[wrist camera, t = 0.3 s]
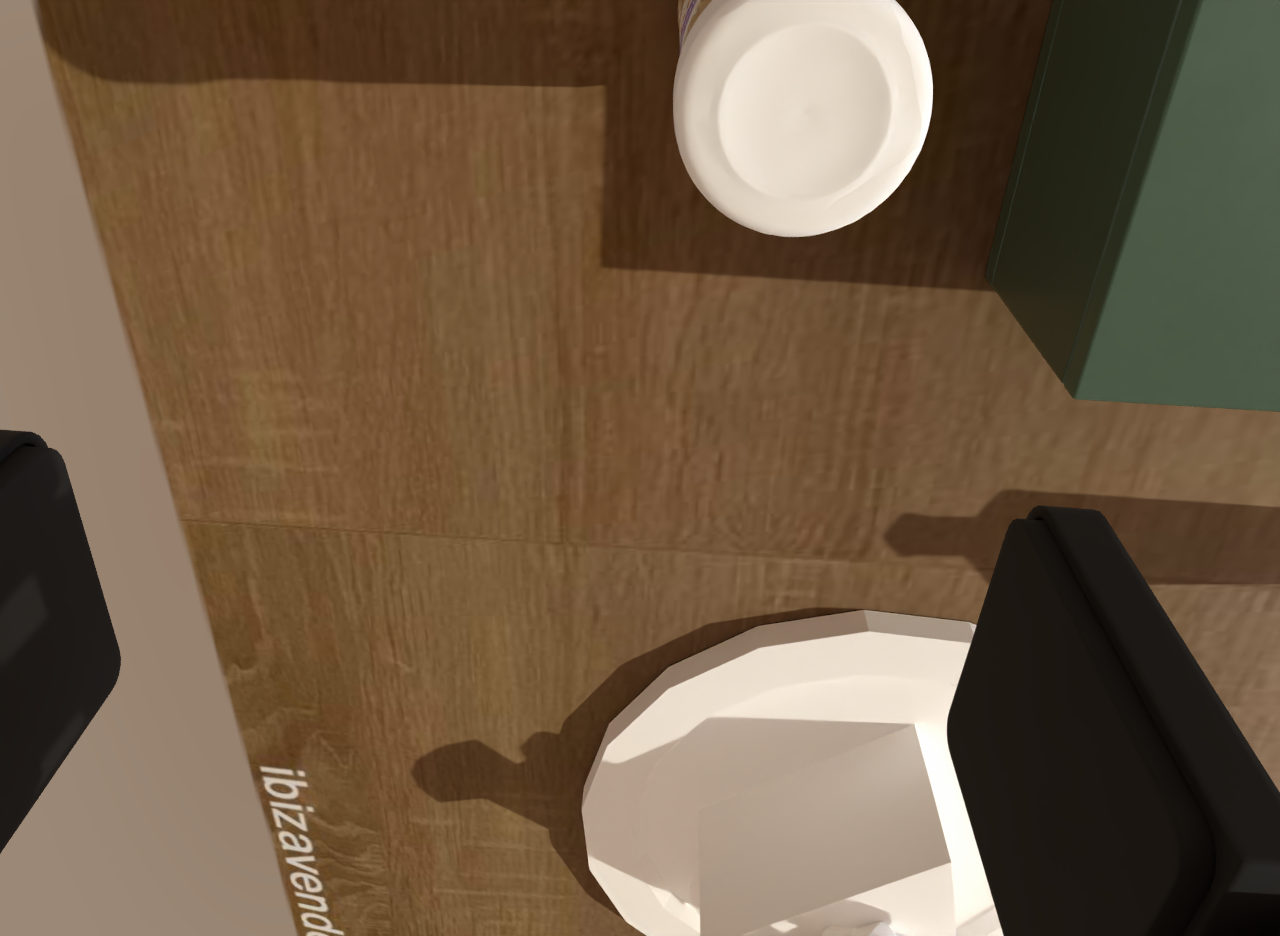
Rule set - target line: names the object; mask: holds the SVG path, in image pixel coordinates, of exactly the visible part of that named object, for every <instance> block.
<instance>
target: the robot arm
mask: <svg viewBox="0 0 1280 936" xmlns="http://www.w3.org/2000/svg"><path fill="white" fill-rule="evenodd" d="M120 666H121V657H120V650H119V647H118V643H117V640H116V636H115V633H114V629H113V626H112V623H111V619H110V616H109V613H108V609H107V605H106V602H105V599H104V596H103V592H102V589H101V585H100V582H99V578H98V575H97V571H96V568H95V565H94V561H93V558H92V554H91V551H90V547H89V544H88V541H87V537H86V534H85V530H84V527H83V524H82V520H81V517H80V513H79V510H78V506H77V503H76V500H75V496H74V493H73V489H72V486H71V483H70V479H69V476H68V472H67V469H66V466H65V463H64V460H63V458H62V456H61V455H60V454H59V452H58V451H57V450H54V449H52V448H48V446H47V444H46V442H45V441H44V440H43V439H42V438H41V437H40V436H39V435H37V434H35V433H33V432H25V431H24V432H23V431H10V430H0V853H1V852H2V850H3V849H4V847H5V846H6V844H7V843H8V841H9V840H10V839H11V837H12V836H13V834H14V833H15V831H16V830H17V828H18V827H19V825H20V824H21V822H22V821H23V819H24V818H25V817H26V815H27V814H28V812H29V811H30V809H31V808H32V806H33V805H34V803H35V802H36V801H37V799H38V798H39V796H40V795H41V793H42V792H43V790H44V789H45V787H46V786H47V784H48V783H49V781H50V780H51V779H52V777H53V776H54V774H55V773H56V771H57V770H58V768H59V767H60V765H61V764H62V762H63V761H64V760H65V758H66V757H67V755H68V754H69V752H70V751H71V749H72V748H73V746H74V745H75V744H76V742H77V741H78V739H79V738H80V736H81V735H82V733H83V732H84V730H85V729H86V728H87V726H88V725H89V723H90V722H91V720H92V719H93V717H94V716H95V714H96V713H97V712H98V710H99V708H100V707H101V706H102V704H103V703H104V701H105V700H106V698H107V697H108V695H109V694H110V693H111V691H112V689H113V688H114V685H115V684H116V681H117V679H118V676H119V671H120ZM947 742H948V748H949V752H950V756H951V759H952V762H953V766H954V769H955V773H956V776H957V779H958V783H959V786H960V790H961V793H962V796H963V800H964V803H965V807H966V810H967V813H968V817H969V820H970V824H971V827H972V830H973V834H974V837H975V841H976V844H977V847H978V851H979V854H980V858H981V861H982V864H983V868H984V871H985V874H986V878H987V881H988V885H989V888H990V891H991V895H992V898H993V902H994V905H995V908H996V912H997V915H998V919H999V922H1000V925H1001V929H1002V932H1003V936H1280V792H1279V791H1278V789H1277V788H1276V786H1275V785H1274V783H1273V781H1272V780H1271V778H1270V777H1269V775H1268V774H1267V772H1266V770H1265V769H1264V767H1263V766H1262V764H1261V762H1260V761H1259V759H1258V758H1257V756H1256V755H1255V753H1254V751H1253V750H1252V748H1251V747H1250V745H1249V744H1248V742H1247V740H1246V739H1245V737H1244V736H1243V734H1242V732H1241V731H1240V729H1239V728H1238V726H1237V725H1236V723H1235V721H1234V720H1233V718H1232V717H1231V715H1230V714H1229V712H1228V710H1227V709H1226V707H1225V706H1224V704H1223V702H1222V701H1221V699H1220V698H1219V696H1218V695H1217V693H1216V691H1215V690H1214V688H1213V687H1212V685H1211V684H1210V682H1209V680H1208V679H1207V677H1206V676H1205V674H1204V672H1203V671H1202V669H1201V668H1200V666H1199V665H1198V663H1197V662H1196V660H1195V658H1194V657H1193V655H1192V654H1191V652H1190V651H1189V649H1188V647H1187V646H1186V644H1185V643H1184V641H1183V639H1182V638H1181V636H1180V635H1179V633H1178V632H1177V630H1176V628H1175V627H1174V625H1173V624H1172V622H1171V621H1170V619H1169V617H1168V616H1167V614H1166V613H1165V611H1164V610H1163V608H1162V606H1161V605H1160V603H1159V602H1158V600H1157V598H1156V597H1155V595H1154V594H1153V592H1152V591H1151V589H1150V587H1149V586H1148V584H1147V583H1146V581H1145V580H1144V578H1143V576H1142V575H1141V573H1140V572H1139V570H1138V568H1137V567H1136V565H1135V564H1134V562H1133V561H1132V559H1131V557H1130V556H1129V554H1128V553H1127V551H1126V550H1125V548H1124V546H1123V545H1122V543H1121V542H1120V540H1119V538H1118V537H1117V535H1116V534H1115V532H1114V531H1113V529H1112V527H1111V526H1110V524H1109V523H1108V521H1107V520H1106V518H1105V517H1104V516H1103V515H1102V513H1101V512H1100V511H1096V510H1092V509H1078V508H1065V507H1051V506H1037V507H1035V508H1033V509H1032V511H1031V512H1030V513H1029V515H1028V517H1027V519H1015V520H1013V521H1012V522H1011V524H1010V525H1009V527H1008V530H1007V532H1006V535H1005V538H1004V541H1003V544H1002V547H1001V551H1000V554H999V557H998V560H997V563H996V566H995V569H994V573H993V576H992V579H991V582H990V585H989V588H988V591H987V594H986V598H985V601H984V604H983V607H982V610H981V613H980V616H979V619H978V623H977V626H976V629H975V632H974V635H973V638H972V641H971V644H970V648H969V651H968V654H967V657H966V660H965V663H964V666H963V669H962V673H961V676H960V679H959V682H958V685H957V688H956V691H955V694H954V698H953V701H952V704H951V707H950V710H949V714H948V720H947Z"/></svg>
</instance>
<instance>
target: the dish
mask: <svg viewBox="0 0 1280 936" xmlns="http://www.w3.org/2000/svg"><path fill="white" fill-rule="evenodd" d="M976 626H977V625H975V624H972V623H970V622H964V621H955V620H947V619H938V618H930V617H921V616H912V615H904V614H895V613H887V612H878V611H870V610H860V611H853V612H846V613H840V614H833V615H827V616H820V617H814V618H807V619H801V620H794V621H788V622H781V623H775V624H768V625H761V626H757V627H755V628H752V629H750V630H748V631H746V632H744V633H742V634H739V635H737V636H735V637H733V638H731V639H728V640H726V641H724V642H722V643H720V644H717V645H715V646H713V647H711V648H709V649H707V650H704V651H702V652H700V653H698V654H696V655H693V656H691V657H689V658H687V659H685V660H682V661H680V662H678V663H676V664H674V665H672V666H669V667H668V668H667V669H666V670H665V671H664V672H663V673H662V674H661V675H660V676H659V677H657V678H656V679H655V680H654V681H653V682H652V683H651V684H650V685H649V686H648V687H647V688H646V689H645V690H644V691H643V692H642V693H641V694H640V695H639V696H637V697H636V698H635V699H634V700H633V701H632V702H631V703H630V704H629V705H628V706H627V707H626V708H625V709H624V710H623V711H622V712H621V713H620V714H619V715H618V716H616V717H615V718H614V719H613V720H612V721H611V722H610V723H609V725H608V728H607V730H606V733H605V735H604V738H603V740H602V743H601V745H600V748H599V750H598V753H597V755H596V757H595V760H594V762H593V765H592V767H591V770H590V772H589V775H588V777H587V780H586V782H585V785H584V791H583V800H582V817H583V824H584V832H585V840H586V847H587V855H588V862H589V870H590V871H591V873H592V874H593V875H594V877H595V878H596V880H597V881H598V883H599V884H600V885H601V887H602V888H603V890H604V891H605V893H606V894H607V895H608V897H609V898H610V900H611V901H612V903H613V904H614V905H615V907H616V908H617V910H618V911H619V913H620V914H621V915H622V917H623V918H624V920H625V921H626V922H627V923H629V924H630V925H632V926H633V927H635V928H636V929H638V930H639V931H641V932H642V933H643V934H645V935H646V936H1003V932H1002V929H1001V925H1000V922H999V919H998V915H997V912H996V908H995V905H994V902H993V898H992V895H991V891H990V888H989V885H988V881H987V878H986V874H985V871H984V868H983V864H982V861H981V858H980V854H979V851H978V847H977V844H976V841H975V837H974V834H973V830H972V827H971V824H970V820H969V817H968V813H967V810H966V807H965V803H964V800H963V796H962V793H961V790H960V786H959V783H958V779H957V776H956V773H955V769H954V766H953V762H952V759H951V756H950V752H949V748H948V742H947V720H948V714H949V710H950V707H951V704H952V701H953V698H954V694H955V691H956V688H957V685H958V682H959V679H960V676H961V673H962V669H963V666H964V663H965V660H966V657H967V654H968V651H969V648H970V644H971V641H972V638H973V635H974V632H975V629H976Z"/></svg>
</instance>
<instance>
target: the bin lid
mask: <svg viewBox="0 0 1280 936" xmlns="http://www.w3.org/2000/svg"><path fill="white" fill-rule="evenodd" d="M1064 386H1065V388H1066V389H1067V391H1068V392H1069V394H1070V395H1071V396H1072V398H1074V399H1080V400H1096V401H1113V402H1129V403H1145V404H1161V405H1178V406H1194V407H1210V408H1227V409H1243V410H1259V411H1276V412H1280V0H1183V3H1182V6H1181V10H1180V13H1179V16H1178V19H1177V23H1176V26H1175V29H1174V32H1173V35H1172V39H1171V42H1170V45H1169V48H1168V52H1167V55H1166V58H1165V61H1164V64H1163V68H1162V71H1161V74H1160V77H1159V81H1158V84H1157V87H1156V90H1155V93H1154V97H1153V100H1152V103H1151V106H1150V110H1149V113H1148V116H1147V119H1146V123H1145V126H1144V129H1143V132H1142V135H1141V139H1140V142H1139V145H1138V148H1137V152H1136V155H1135V158H1134V161H1133V164H1132V168H1131V171H1130V174H1129V177H1128V181H1127V184H1126V187H1125V190H1124V193H1123V197H1122V200H1121V203H1120V206H1119V210H1118V213H1117V216H1116V219H1115V222H1114V226H1113V229H1112V232H1111V235H1110V239H1109V242H1108V245H1107V248H1106V251H1105V255H1104V258H1103V261H1102V264H1101V268H1100V271H1099V274H1098V277H1097V280H1096V284H1095V287H1094V290H1093V293H1092V297H1091V300H1090V303H1089V306H1088V309H1087V313H1086V316H1085V319H1084V322H1083V326H1082V329H1081V332H1080V335H1079V338H1078V342H1077V345H1076V348H1075V351H1074V355H1073V358H1072V361H1071V364H1070V368H1069V371H1068V374H1067V377H1066V380H1065V384H1064Z"/></svg>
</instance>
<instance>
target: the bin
mask: <svg viewBox="0 0 1280 936" xmlns="http://www.w3.org/2000/svg"><path fill="white" fill-rule="evenodd" d="M1182 3H1183V0H1053V2H1052V6H1051V10H1050V14H1049V18H1048V22H1047V27H1046V31H1045V35H1044V39H1043V43H1042V47H1041V51H1040V55H1039V59H1038V63H1037V67H1036V71H1035V75H1034V79H1033V83H1032V87H1031V91H1030V95H1029V100H1028V104H1027V108H1026V112H1025V116H1024V120H1023V124H1022V128H1021V132H1020V136H1019V140H1018V144H1017V148H1016V152H1015V156H1014V160H1013V164H1012V168H1011V173H1010V177H1009V181H1008V185H1007V189H1006V193H1005V197H1004V201H1003V205H1002V209H1001V213H1000V217H999V221H998V225H997V229H996V233H995V237H994V241H993V246H992V250H991V254H990V258H989V262H988V266H987V270H986V274H985V278H986V279H987V281H988V282H989V283H990V285H991V286H992V287H993V288H994V289H995V291H996V292H997V294H998V295H999V296H1000V298H1001V299H1002V301H1003V302H1004V303H1005V305H1006V306H1007V307H1008V309H1009V310H1010V312H1011V313H1012V314H1013V316H1014V317H1015V318H1016V320H1017V321H1018V323H1019V324H1020V325H1021V327H1022V328H1023V330H1024V331H1025V332H1026V334H1027V335H1028V336H1029V338H1030V339H1031V341H1032V342H1033V343H1034V345H1035V346H1036V348H1037V349H1038V350H1039V352H1040V353H1041V354H1042V356H1043V357H1044V359H1045V360H1046V361H1047V363H1048V364H1049V366H1050V367H1051V368H1052V370H1053V371H1054V372H1055V374H1056V375H1057V377H1058V378H1059V379H1060V381H1061V382H1062V383H1064V384H1065V380H1066V377H1067V374H1068V371H1069V368H1070V364H1071V361H1072V358H1073V355H1074V351H1075V348H1076V345H1077V342H1078V338H1079V335H1080V332H1081V329H1082V326H1083V322H1084V319H1085V316H1086V313H1087V309H1088V306H1089V303H1090V300H1091V297H1092V293H1093V290H1094V287H1095V284H1096V280H1097V277H1098V274H1099V271H1100V268H1101V264H1102V261H1103V258H1104V255H1105V251H1106V248H1107V245H1108V242H1109V239H1110V235H1111V232H1112V229H1113V226H1114V222H1115V219H1116V216H1117V213H1118V210H1119V206H1120V203H1121V200H1122V197H1123V193H1124V190H1125V187H1126V184H1127V181H1128V177H1129V174H1130V171H1131V168H1132V164H1133V161H1134V158H1135V155H1136V152H1137V148H1138V145H1139V142H1140V139H1141V135H1142V132H1143V129H1144V126H1145V123H1146V119H1147V116H1148V113H1149V110H1150V106H1151V103H1152V100H1153V97H1154V93H1155V90H1156V87H1157V84H1158V81H1159V77H1160V74H1161V71H1162V68H1163V64H1164V61H1165V58H1166V55H1167V52H1168V48H1169V45H1170V42H1171V39H1172V35H1173V32H1174V29H1175V26H1176V23H1177V19H1178V16H1179V13H1180V10H1181V6H1182Z"/></svg>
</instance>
